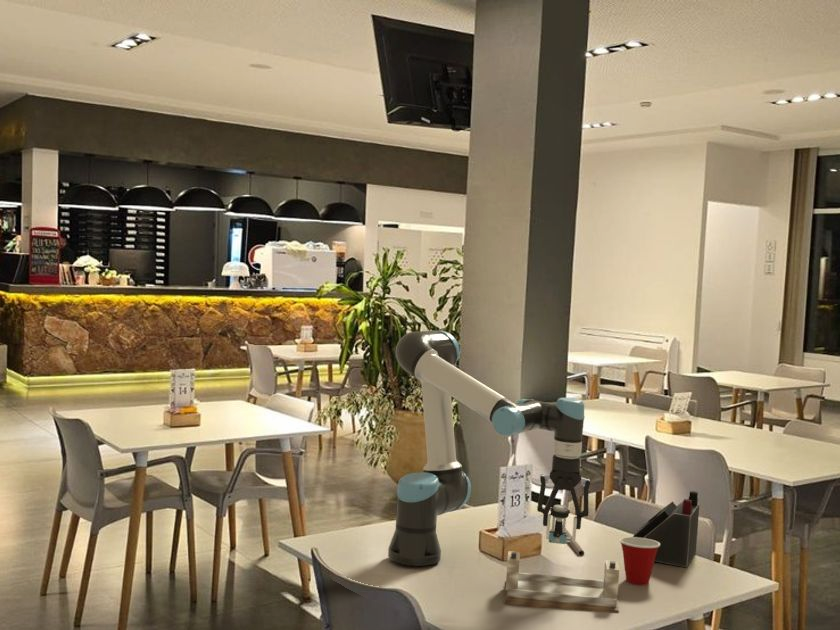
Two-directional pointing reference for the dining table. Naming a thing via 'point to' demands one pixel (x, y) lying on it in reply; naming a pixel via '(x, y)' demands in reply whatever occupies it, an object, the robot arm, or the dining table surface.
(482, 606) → the dining table surface
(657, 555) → the dark desk organizer
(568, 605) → the board
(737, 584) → the dining table surface
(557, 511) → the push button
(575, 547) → the metal rod
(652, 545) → the plastic cup
